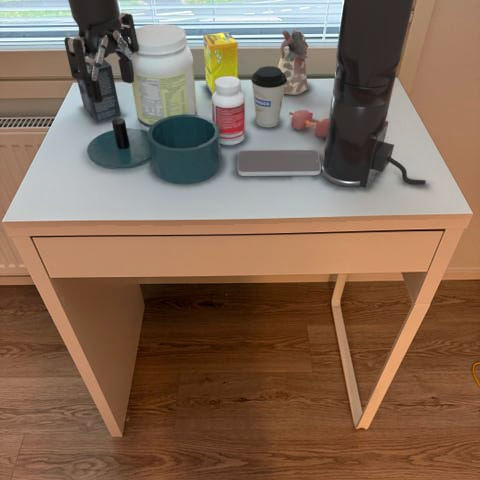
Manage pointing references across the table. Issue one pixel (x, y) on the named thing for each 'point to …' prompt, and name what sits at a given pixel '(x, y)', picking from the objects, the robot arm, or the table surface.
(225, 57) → the supplement box
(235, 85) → the pill bottle
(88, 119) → the table surface
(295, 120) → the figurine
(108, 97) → the box
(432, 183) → the table surface
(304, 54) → the figurine
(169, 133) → the tin
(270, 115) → the coffee cup
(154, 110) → the supplement tub
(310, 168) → the smartphone
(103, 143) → the lid
